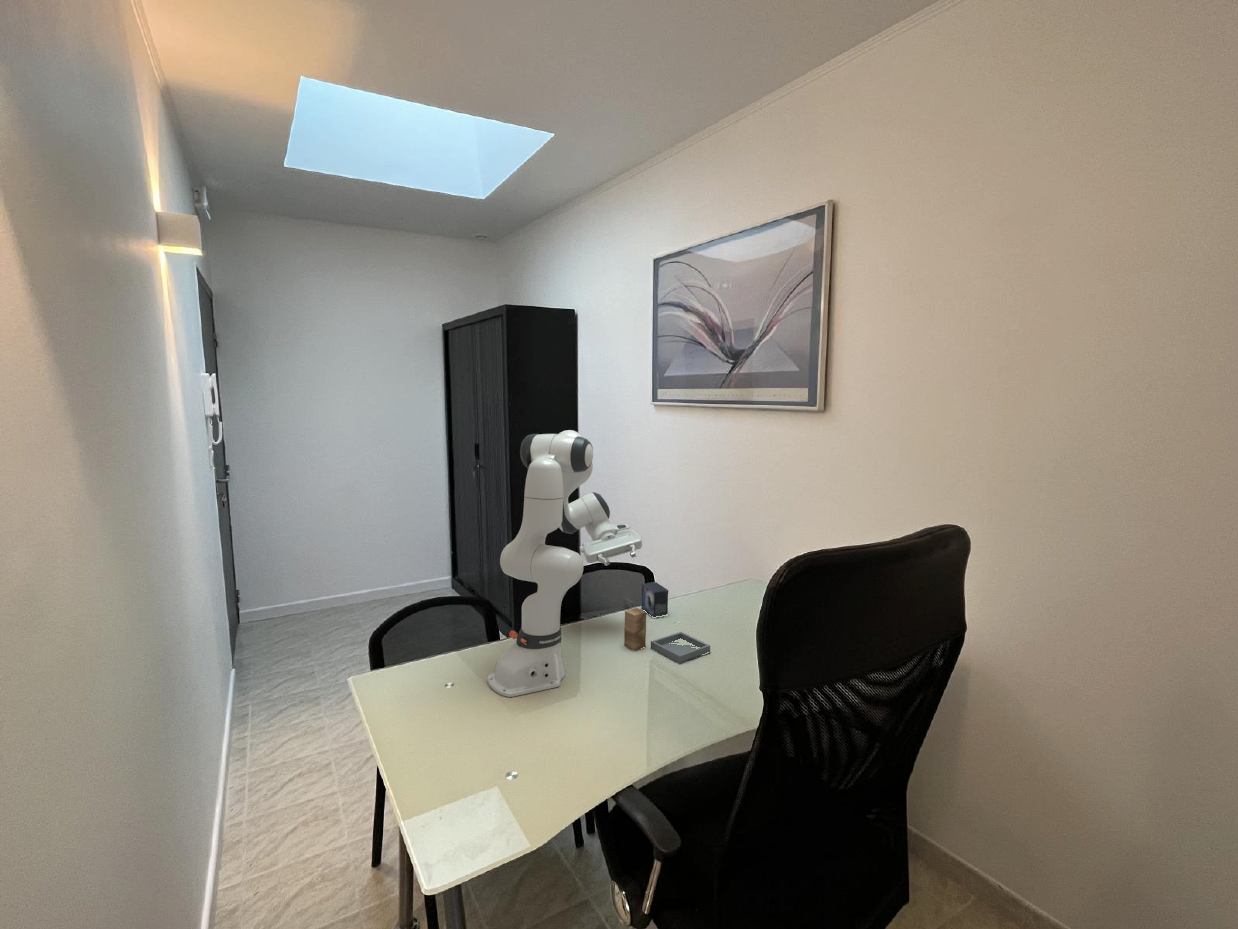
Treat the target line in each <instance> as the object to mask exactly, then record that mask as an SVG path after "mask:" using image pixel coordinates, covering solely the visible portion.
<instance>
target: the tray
mask: <svg viewBox="0 0 1238 929" xmlns="http://www.w3.org/2000/svg"><path fill="white" fill-rule="evenodd" d="M680 638H681V639H683V640H686V641H687V642H689V643H692V644H693V645H695V646H692V645H691V646H690V645H683V646H682V645H677V644H671V643H679V642H674V641H675V640H678V639H680ZM672 641H673V642H672ZM669 643H670V644H669ZM696 646H697V647H700V648H698V649H696V648H691V647H696ZM652 649H653V651H654V650H655V651H654V652H656V651H657V652H656V653H657V654H660V655H661V654H662V656H663V655H664V657H665V658H667V657H668V658H667V659H669V660H671V661H673V662H674V663H676V662H677V664H679V665H681V664H684V663H686V661H687V662H690V661H691V660H695V659H697V658H696V657H698V658H700V657H702V656H701V655H702V654H705V653H707V652H710V653H711V645H710V644H708V643H706V642H704V641H701V640H700V639H698V638H696V637H694V636H690V635H689V634H687V633H684V632H682V631H679V632H676V633H673V634H670V635H666V636H663V637H660V638H657V639H654V640H650V650H652ZM699 656H700V657H699ZM694 658H695V659H694Z"/></svg>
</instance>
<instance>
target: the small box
mask: <svg viewBox="0 0 1238 929" xmlns="http://www.w3.org/2000/svg"><path fill="white" fill-rule="evenodd" d="M668 604H669V589H668V588H666V587H665V586H664V585H661V584H659V583H658V582H657V581H651V582H646V583H641V606H640V607H641V610H642V609H643V610H645V611H646V612H647V613H648V614H650V615H651V616H653V617H656V616H662V615H666V614H668V615H669V612H668V611H669V610H668V609H669V608H668V606H669V605H668ZM647 613H646V614H647ZM648 614H647V615H648ZM651 616H650V617H651Z"/></svg>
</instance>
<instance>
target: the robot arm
mask: <svg viewBox="0 0 1238 929" xmlns="http://www.w3.org/2000/svg"><path fill="white" fill-rule="evenodd" d="M519 455H520V456H519V457H520V459H521V462H522V464H523V465H524V467H526V469H527V474H526V477H525V485H524V495H523V496H524V498H523V500H524V501H523V512H522V514H523V515H522V522H521V525H520V529H519V531H518V533H517V534H516V536H515V538H514V539H513V540H511V541H510V542H509V543H508V544H506V545H505V547H504V548H503V549H502V552H501V553H500V558H499V565H500V568H501V571H502V572H503V573H504V574H505V575H507V576H509V577H511V578H514V579H517V580H520V581H525V582H526V581H527V582H531V583H536V584H537V591H536V592H535V593H532V594H530V595H528V596H527V597H526V598H525V599H524V601H523V602H522V605H521V627H520V629H519V632H517V631H515V630H510V632H508V633H509V637H510V638H512V639H513V640H515V643H513V644H512V645H511V646H510V647H509V648H508V649H507V650H506V651H505V652H504V653H503V654H501V656H500V657H498V658H497V661H496V665H495V670H494V672H492V673H489V674H488V676H487V681H486V682H487V684H488V686H489V687H490V688H491V689H492V691H494V692H496V693H497V694H499V695H501V696H505V697H507V698H513V697H517V696H518V697H519V696H523V695H528V694H530V693H531V694H533V693H535V692H541V691H546V690H550V689H554V688H557V687H560V686H561V681H562V679H564V677H565V676H566V671H565V668H564V664H563V659H562V651H561V650H562V649H561V643H562V627H561V609H562V608H561V607H562V601H563V599H564V597H565V595H566V593H567V592H568V590H569V589H570V588H572V587H573V586H575V585H576V584H577V583H578V582H579V581H580V579H581V578H582V575H583V572H584V562H583V559H582V556H581V555H580V554H579V553H578V552H576V551H574V550H571V549H569V548H566V547H563V546H555V545H549V544H548V545H547V544H546V538H547V536H548V534H550V533H552V532H554V531H556V530H558V528H559V529H560V530H561V532H562V533H565V534H570V535H573V534H574V533H576V532H578V531H579V530H580V529H582V528H585V531H586V533H587V534H588V536H590V538H591V541H588V542H584V543H582V545H580V546H579V551H580V552H581V553H582V554H583V555H584V559H585V561H586V563H588V564H593V563H596V562H599V563H601V564H604V566H610V564H611V563H610V560H609V559H610V558H613V557H617V556H620V555H623V554H627V553H629V556H630V557H631V559H633V558H636V557H637V553H636V551H637V550H640V549H642V548H643V540H642V537H641V536H640V534H638V533H637V531H635V530H633V529H632V528H631V527H630V525H629V524H611V521H610V516H611V511H610V508H609V505H608V503H607V502H606V500H605V499H604V497H602V495H601V494H600V493H598V492H594V491H592V492H589V493H587V494H585V495H583V496H581V497H580V498H577V499H576V500H574V501H571V502H569V497H570V495H572V494H573V492H574V491H576V489H578V488H579V487H580V486H582V485H583V484H584V483H586V481H588V479H590V477H591V476H592V472H593V465H594V464H593V459H594V448H593V444H592V443H591V442H590V440H588V439H587V438H585V437H582V435H581V434H580V433H579V432H577V431H576V430H572V429H568V430H563V431H561V432H559V433H542V434H539V433H532V434H531V433H530V434H528V435H526V436H525V437H524V438H523V439H522V441H521V445H520V450H519Z"/></svg>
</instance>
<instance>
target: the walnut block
mask: <svg viewBox="0 0 1238 929" xmlns="http://www.w3.org/2000/svg"><path fill="white" fill-rule="evenodd" d="M623 631H624V635H623V647H625V648H627V649H629V650H631V651H632V650H633V652H635V650H636V651H638V649H639V650H642V649H644V648H643V647H645V648H646V646H647V613H646V612H645V611H643V610H642V609H640V608H638V607H635V608H630V609H627V610H624V630H623ZM641 648H642V649H641Z"/></svg>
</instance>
